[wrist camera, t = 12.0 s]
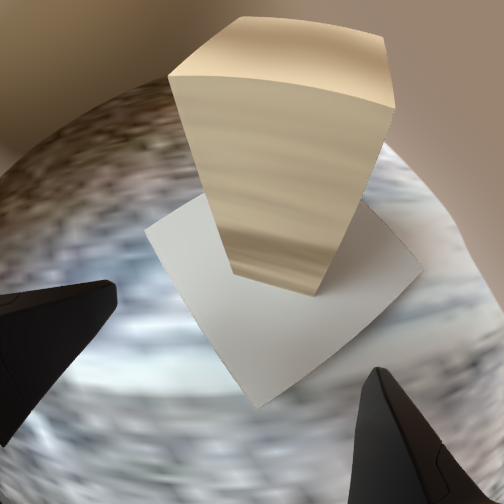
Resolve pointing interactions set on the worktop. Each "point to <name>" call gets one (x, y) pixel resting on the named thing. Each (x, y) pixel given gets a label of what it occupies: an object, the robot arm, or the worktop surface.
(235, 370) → the light grey slab
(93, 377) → the worktop surface
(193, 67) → the birch block
